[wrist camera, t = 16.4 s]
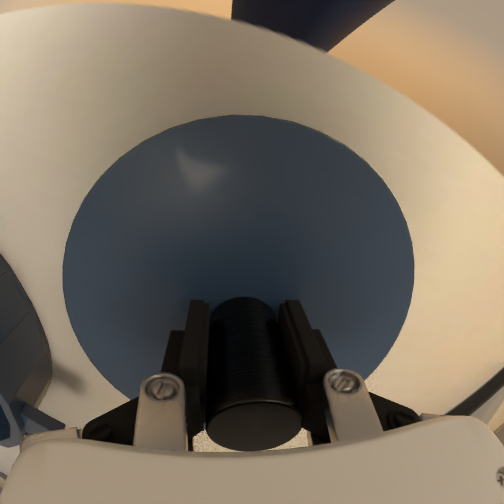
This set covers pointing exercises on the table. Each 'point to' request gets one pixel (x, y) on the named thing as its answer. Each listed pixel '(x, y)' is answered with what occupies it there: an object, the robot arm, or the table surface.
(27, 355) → the pot
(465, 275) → the table surface
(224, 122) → the lid
